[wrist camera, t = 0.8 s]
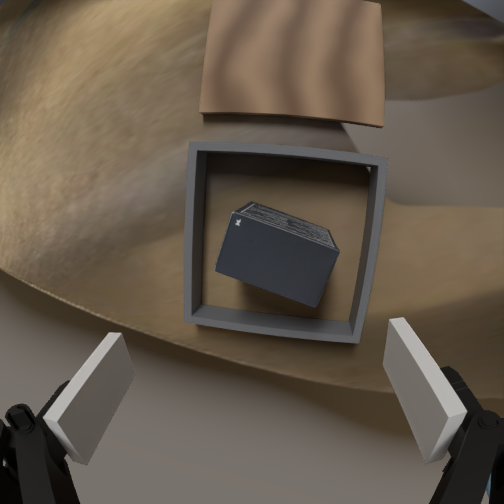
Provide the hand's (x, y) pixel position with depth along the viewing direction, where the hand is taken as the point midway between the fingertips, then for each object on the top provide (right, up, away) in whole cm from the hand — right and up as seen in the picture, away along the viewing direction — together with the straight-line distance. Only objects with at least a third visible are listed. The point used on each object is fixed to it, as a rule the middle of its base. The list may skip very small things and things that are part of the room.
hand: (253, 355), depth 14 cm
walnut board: (+5, +30, +18) cm, 35 cm away
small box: (+4, +6, +24) cm, 25 cm away
